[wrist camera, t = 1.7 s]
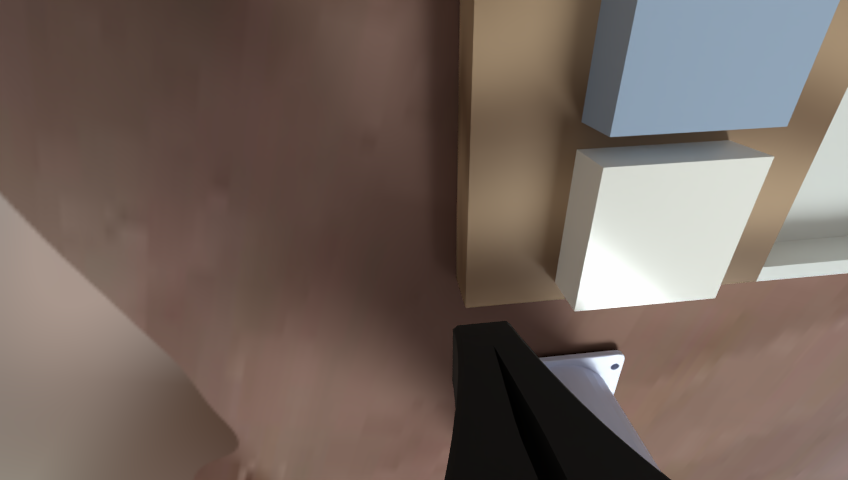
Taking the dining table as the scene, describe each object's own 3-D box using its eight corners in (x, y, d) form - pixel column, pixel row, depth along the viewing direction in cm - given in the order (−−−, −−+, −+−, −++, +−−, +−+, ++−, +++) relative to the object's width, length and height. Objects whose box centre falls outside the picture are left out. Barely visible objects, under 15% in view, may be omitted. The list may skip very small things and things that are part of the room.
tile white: (682, 270, 18) (714, 298, 16) (554, 282, 18) (574, 311, 16) (729, 139, 15) (774, 156, 13) (576, 149, 15) (603, 167, 13)
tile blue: (738, 113, 15) (787, 126, 13) (581, 121, 14) (609, 137, 13) (812, -97, 12) (888, -116, 10) (616, -95, 11) (660, -114, 10)
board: (718, 254, 21) (756, 281, 19) (456, 277, 20) (465, 308, 18) (867, -120, 14) (956, -144, 12) (461, -117, 13) (478, -142, 10)
